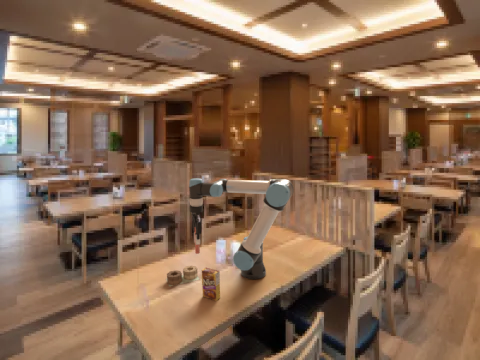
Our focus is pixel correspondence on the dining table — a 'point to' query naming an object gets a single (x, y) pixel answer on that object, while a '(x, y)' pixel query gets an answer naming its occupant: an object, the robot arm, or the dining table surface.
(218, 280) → the candy box
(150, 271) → the dining table surface
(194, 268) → the beech bead
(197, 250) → the needle
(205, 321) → the dining table surface
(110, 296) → the dining table surface
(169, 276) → the walnut bead
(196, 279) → the felt mat
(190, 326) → the dining table surface
